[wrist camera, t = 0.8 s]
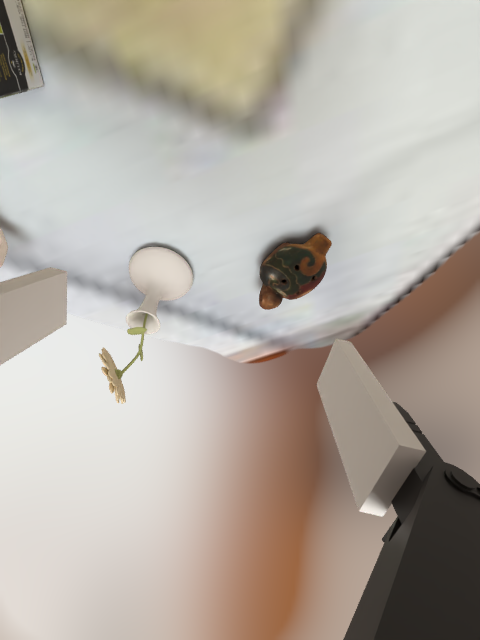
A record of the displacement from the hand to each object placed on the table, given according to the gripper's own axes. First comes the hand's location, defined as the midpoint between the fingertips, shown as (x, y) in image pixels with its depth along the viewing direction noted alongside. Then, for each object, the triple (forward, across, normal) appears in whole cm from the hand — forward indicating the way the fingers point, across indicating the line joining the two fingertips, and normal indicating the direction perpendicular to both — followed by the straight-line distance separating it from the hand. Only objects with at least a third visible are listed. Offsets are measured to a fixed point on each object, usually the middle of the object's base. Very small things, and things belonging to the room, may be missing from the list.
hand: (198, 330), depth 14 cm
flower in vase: (+39, -13, -9) cm, 42 cm away
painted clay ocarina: (+38, +9, -1) cm, 40 cm away
